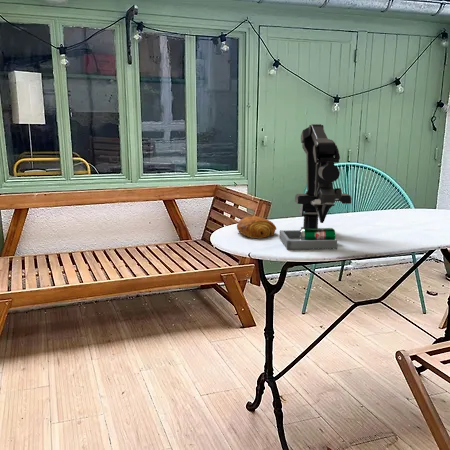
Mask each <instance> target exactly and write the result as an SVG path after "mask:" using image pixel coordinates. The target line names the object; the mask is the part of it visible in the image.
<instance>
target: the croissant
mask: <svg viewBox="0 0 450 450" xmlns="http://www.w3.org/2000/svg"><path fill="white" fill-rule="evenodd" d="M236 229H237V231H238V232H239V233H241V234H242V236H245V237H248V238H250V239H251V238H252V239H262V238H268V237H273V236H274V235H275V233H276V230H277V227H276V225H275V223H273V222H272V221H270V220H269V219H267V218H263V217H260V216H256V215H253V216H246V217H244V218H241V219H240V220H239V221H238V223H237V224H236Z"/></svg>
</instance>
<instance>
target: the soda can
mask: <svg viewBox="0 0 450 450" xmlns="http://www.w3.org/2000/svg"><path fill="white" fill-rule="evenodd" d="M299 230H300V233H299V238H300V240H336V237H337V235H336V230H335V229H334V228H333V227H323V228H322V227H318V228H303V229H299Z"/></svg>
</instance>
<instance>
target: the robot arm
mask: <svg viewBox="0 0 450 450" xmlns="http://www.w3.org/2000/svg"><path fill="white" fill-rule="evenodd" d="M324 128H325V127H324V124H320V123H319V124H318V123H317V124H316V123H315V124H313V123H311V124H309V126H308V127H307V128H304V129H303V130H302V132H301V134H300V143H301V147H302V149H303V151H304V153H305V154H306V161H305V162H306V191H305V193H296V194H295V195H294V203H296V204H298V205H300V207H299V215H300V216H301V217H303V226H301V227H300V230H302V229H303V228H319V222H320V224H324V222H325V219H326V218H327V215H328V213H329V210H331V208H332V207H335V203H336V202H341V204H343V205H344V204H347V205H349V204H352V196H351V195H350V194H348V193H344V192H343V191H342V188H340V187H339V188H338V187H335V188H334V182H335V181H336V182H337V180H338V179H339V177H340V173H341V172H340V169H339V168H338V166H336V165H335V163H337V164H339V163H340V159H341V157H340V156H341V155H340V151H339V148H338V145H336V142H335V141H334V140H332V139H330V138H328V136H327V134H326V132H325V129H324ZM342 192H343V193H342Z"/></svg>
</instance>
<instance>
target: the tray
mask: <svg viewBox="0 0 450 450" xmlns="http://www.w3.org/2000/svg"><path fill="white" fill-rule="evenodd" d="M300 230H301V229H292V230H291V229H290V230H289V229H288V230H286V229H285V230H284V229H283V230H279V238H278V239H279V240H280V241H281V242H282V244H283V246H284V247H285V249H286V251H295V250H296V251H298V250H299V251H303V250H308V251H309V250H313V251H314V250H338V239H335V240H300V238H299V233H300Z"/></svg>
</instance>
